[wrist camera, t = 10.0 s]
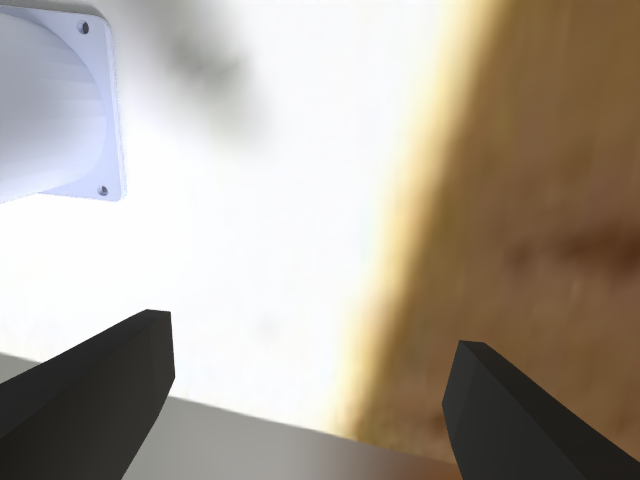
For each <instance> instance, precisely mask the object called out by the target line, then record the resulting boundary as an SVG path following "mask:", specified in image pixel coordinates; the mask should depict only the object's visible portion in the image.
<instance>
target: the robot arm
mask: <svg viewBox="0 0 640 480" xmlns="http://www.w3.org/2000/svg"><path fill="white" fill-rule="evenodd" d="M85 22H86V23H87V24H88V27H89V32H88V33H87V34H85V33H84V31H83V24H84V23H85ZM102 186H104V187H106V188H107V191H108V194H105V193H104V192H103V190H102ZM36 193H39V194H48V195H57V196H66V197H75V198H85V199H94V200H103V201H112V202H117V201H120V200H122V199H124V198H125V196H126V193H127V190H126V180H125V169H124V159H123V148H122V138H121V128H120V117H119V107H118V96H117V86H116V75H115V65H114V55H113V44H112V34H111V29H110V26H109V24H108V22H107V21H106V20H104V19H103V18H101V17H98V16H95V15H89V14H80V13H71V12H62V11H53V10H43V9H34V8H25V7H16V6H7V5H0V204H1V203H5V202H8V201H12V200H15V199H18V198H22V197H25V196H29V195H32V194H36ZM174 379H175V367H174V353H173V339H172V325H171V312H169V311H159V310H149V309H146V310H144V311H141V312H139V313H137V314H135V315H133V316H131V317H129V318H127V319H125V320H123V321H121V322H120V323H118V324H116V325H114V326H112V327H110V328H108V329H106V330H105V331H103V332H101V333H99V334H97V335H95V336H93V337H92V338H90V339H88V340H86V341H84V342H82V343H80V344H78V345H77V346H75V347H73V348H71V349H69V350H67V351H65V352H63V353H62V354H60V355H58V356H56V357H54V358H52V359H50V360H48V361H46V362H44V363H42V364H40V365H38V366H36V367H33V368H32V369H29V370H27V371H25V372H23V373H21V374H19V375H17V376H16V377H13V378H11V379H9V380H7V381H5V382H3V383H1V384H0V480H121V479H122V477H123V475H124V474H125V472H126V470H127V469H128V467H129V465H130V464H131V462H132V460H133V458H134V457H135V455H136V454H137V452H138V450H139V448H140V447H141V445H142V443H143V442H144V440H145V438H146V437H147V435H148V433H149V431H150V429H151V428H152V426H153V424H154V423H155V421H156V419H157V417H158V416H159V413H160V411H161V409H162V407H163V404H164V402H165V400H166V398H167V396H168V393H169V391H170V388H171V386H172V384H173V381H174ZM442 407H443V412H444V416H445V421H446V426H447V430H448V434H449V438H450V442H451V446H452V449H453V452H454V455H455V458H456V461H457V464H458V467H459V469H460V472H461V475H462V478H463V480H640V462H638V461H637V460H635V459H634V458H633V457H631V456H630V455H628V454H627V453H626V452H624V451H623V450H622V449H620V448H619V447H618V446H616V445H615V444H613V443H612V442H611V441H609V440H608V439H607V438H605V437H604V436H603V435H601V434H600V433H599V432H597V431H596V430H594V429H593V428H592V427H590V426H589V425H588V424H587V423H585V422H584V421H583V420H581V419H580V418H579V417H577V416H576V415H575V414H574V413H572V412H571V411H570V410H568V409H567V408H566V407H565V406H563V405H562V404H561V403H560V402H558V401H557V400H556V399H555V398H553V397H552V396H551V395H550V394H548V393H547V392H546V391H545V390H543V389H542V388H541V387H540V386H538V385H537V384H536V383H535V382H534V381H532V380H531V379H530V378H529V377H527V376H526V375H525V374H524V373H522V372H521V371H520V370H519V369H518V368H516V367H515V366H514V365H513V364H511V363H510V362H509V361H508V360H506V359H505V358H504V357H503V356H501V355H500V354H499V353H498V352H496V351H495V350H494V349H492V348H491V347H490V346H488V345H487V344H485V343H483V342H473V341H462V340H459V343H458V347H457V350H456V354H455V358H454V361H453V365H452V369H451V372H450V376H449V380H448V383H447V387H446V390H445V394H444V398H443V401H442Z"/></svg>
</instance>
